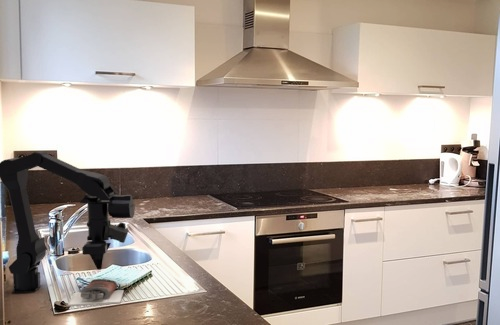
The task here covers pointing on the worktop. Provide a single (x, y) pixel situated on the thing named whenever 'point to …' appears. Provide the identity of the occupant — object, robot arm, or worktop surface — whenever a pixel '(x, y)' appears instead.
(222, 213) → the worktop surface
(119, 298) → the mat
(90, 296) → the lighter
